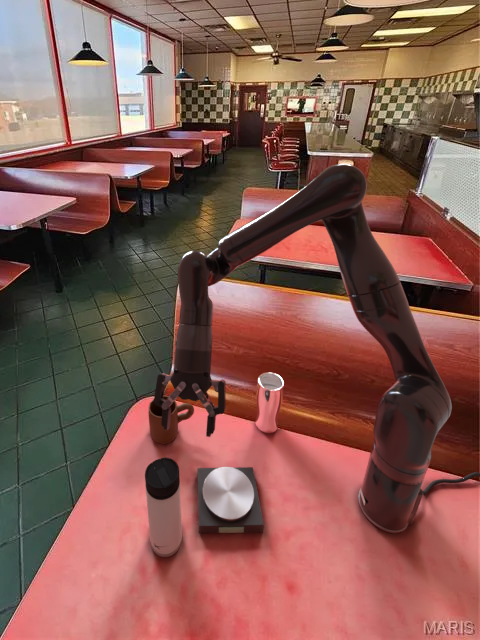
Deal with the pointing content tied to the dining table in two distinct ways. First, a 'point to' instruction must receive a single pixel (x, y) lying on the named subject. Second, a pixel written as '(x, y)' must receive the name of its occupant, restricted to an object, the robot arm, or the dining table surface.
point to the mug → (170, 434)
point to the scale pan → (228, 494)
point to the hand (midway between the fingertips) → (187, 432)
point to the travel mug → (164, 506)
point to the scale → (215, 525)
